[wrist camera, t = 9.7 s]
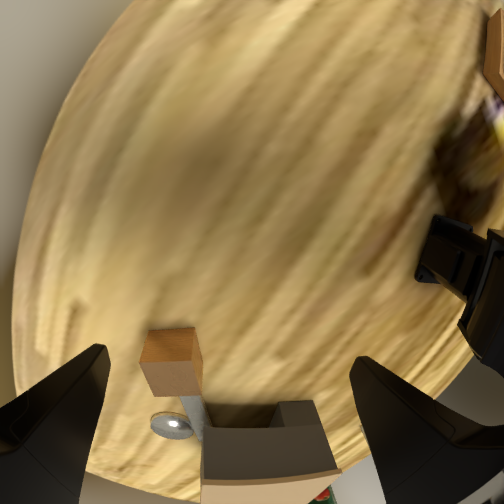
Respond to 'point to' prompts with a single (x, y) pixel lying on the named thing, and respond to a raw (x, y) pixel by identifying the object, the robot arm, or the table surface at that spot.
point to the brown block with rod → (177, 371)
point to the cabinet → (268, 460)
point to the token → (171, 425)
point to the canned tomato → (324, 497)
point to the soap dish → (495, 53)
